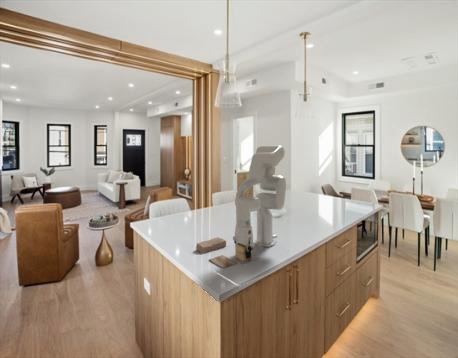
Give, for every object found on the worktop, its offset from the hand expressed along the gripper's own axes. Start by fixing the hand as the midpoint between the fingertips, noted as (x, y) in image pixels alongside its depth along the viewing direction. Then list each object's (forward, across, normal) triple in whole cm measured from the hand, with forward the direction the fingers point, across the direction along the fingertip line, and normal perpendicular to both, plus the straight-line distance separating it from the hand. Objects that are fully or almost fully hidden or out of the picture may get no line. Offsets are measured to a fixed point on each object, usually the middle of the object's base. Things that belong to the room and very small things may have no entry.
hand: (243, 255), depth 136 cm
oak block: (+1, 0, 0) cm, 1 cm away
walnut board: (+2, +3, +12) cm, 12 cm away
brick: (+3, +23, +4) cm, 24 cm away
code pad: (+2, 0, 0) cm, 2 cm away
